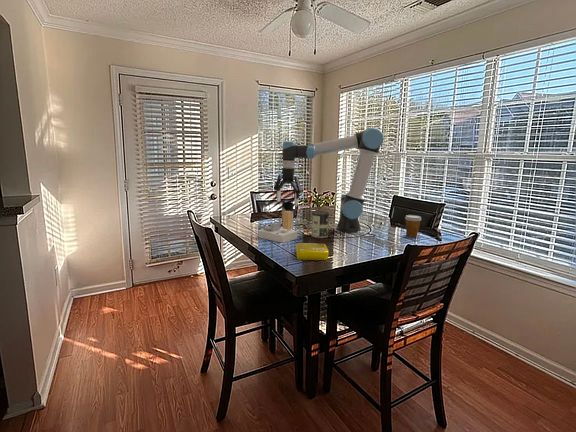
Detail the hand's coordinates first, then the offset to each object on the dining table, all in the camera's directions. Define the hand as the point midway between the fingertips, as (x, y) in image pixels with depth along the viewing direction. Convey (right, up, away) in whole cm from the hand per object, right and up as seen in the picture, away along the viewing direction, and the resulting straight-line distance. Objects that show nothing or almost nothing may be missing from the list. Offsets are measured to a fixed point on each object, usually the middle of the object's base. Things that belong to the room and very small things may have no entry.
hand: (287, 202), depth 209 cm
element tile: (+12, -28, -41) cm, 51 cm away
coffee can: (+19, -20, -3) cm, 28 cm away
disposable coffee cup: (+77, -20, +1) cm, 79 cm away
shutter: (-9, -16, -8) cm, 20 cm away
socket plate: (-5, -21, -10) cm, 24 cm away
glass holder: (+3, -14, +25) cm, 29 cm away
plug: (0, -18, +4) cm, 19 cm away
